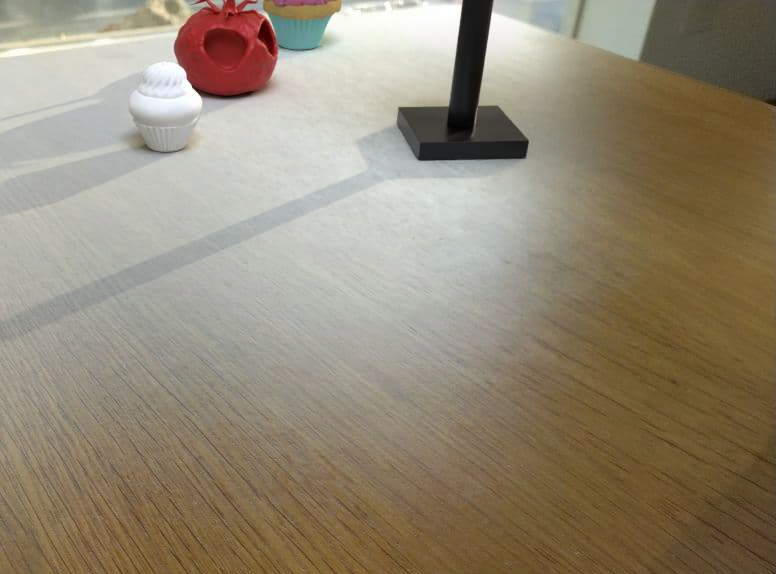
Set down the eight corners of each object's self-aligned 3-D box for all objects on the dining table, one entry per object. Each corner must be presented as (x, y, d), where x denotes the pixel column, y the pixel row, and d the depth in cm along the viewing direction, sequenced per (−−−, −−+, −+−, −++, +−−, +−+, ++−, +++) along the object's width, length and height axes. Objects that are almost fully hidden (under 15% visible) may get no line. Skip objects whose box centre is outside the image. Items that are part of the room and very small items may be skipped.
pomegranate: (157, 81, 97) (153, -19, 92) (242, 66, 102) (242, -30, 96) (210, 109, 90) (208, 2, 85) (298, 91, 95) (302, -11, 90)
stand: (495, 121, 88) (521, -41, 80) (526, 158, 81) (557, -17, 73) (396, 123, 87) (412, -40, 80) (418, 160, 80) (438, -16, 72)
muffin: (218, 144, 83) (217, 60, 79) (166, 164, 79) (163, 76, 75) (167, 127, 86) (163, 45, 82) (115, 146, 82) (109, 61, 78)
